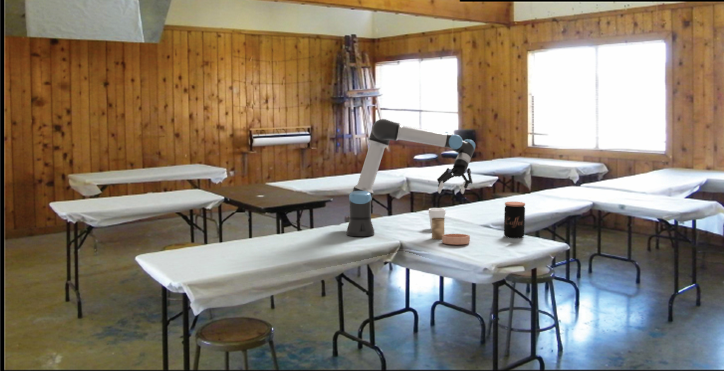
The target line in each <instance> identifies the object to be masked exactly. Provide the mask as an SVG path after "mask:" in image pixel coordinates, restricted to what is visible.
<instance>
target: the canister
mask: <svg viewBox="0 0 724 371" xmlns="http://www.w3.org/2000/svg"><path fill="white" fill-rule="evenodd" d="M445 219H446V217H445V218H439V217H437V218H432V229H431V239H432V240H438V241H442V235H444V234H445Z"/></svg>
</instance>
